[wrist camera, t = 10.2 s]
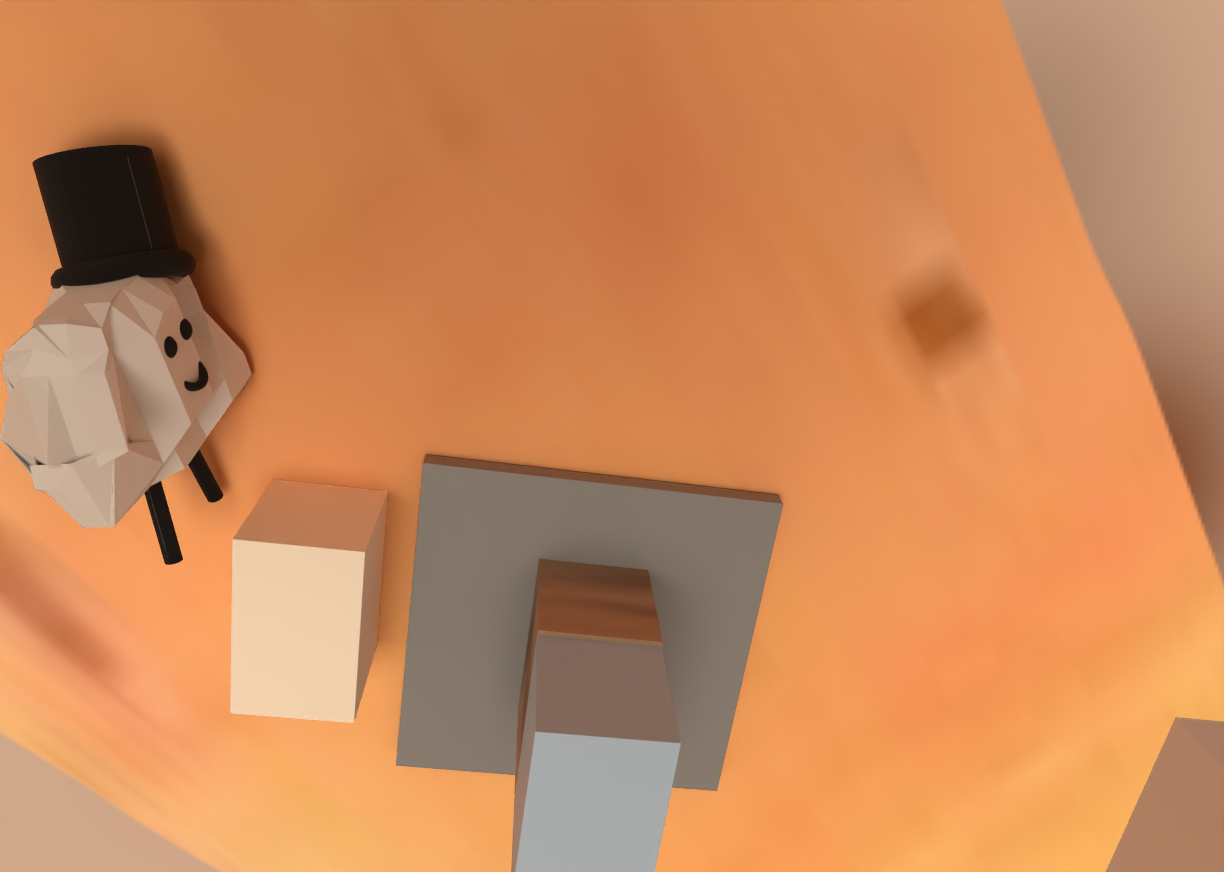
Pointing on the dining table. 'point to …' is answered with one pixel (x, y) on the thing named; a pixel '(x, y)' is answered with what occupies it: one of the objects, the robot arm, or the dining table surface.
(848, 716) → the dining table surface
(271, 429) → the dining table surface
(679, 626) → the build board
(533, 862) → the brick top
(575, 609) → the brick base
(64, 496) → the toy
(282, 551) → the brick
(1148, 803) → the robot arm
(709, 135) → the dining table surface
